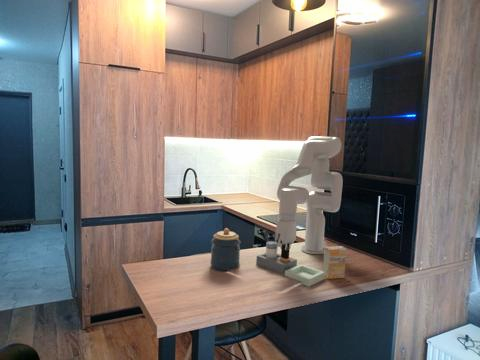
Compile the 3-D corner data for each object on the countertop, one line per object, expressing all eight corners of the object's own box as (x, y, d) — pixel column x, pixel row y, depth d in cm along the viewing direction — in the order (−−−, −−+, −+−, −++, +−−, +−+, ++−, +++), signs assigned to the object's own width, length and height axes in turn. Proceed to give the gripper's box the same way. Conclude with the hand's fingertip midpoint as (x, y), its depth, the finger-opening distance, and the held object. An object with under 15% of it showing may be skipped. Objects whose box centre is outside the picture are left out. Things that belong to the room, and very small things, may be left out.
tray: (300, 270, 160) (300, 264, 160) (324, 278, 152) (324, 271, 152) (284, 277, 151) (284, 270, 151) (309, 286, 143) (309, 279, 143)
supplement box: (327, 279, 151) (329, 249, 150) (321, 275, 156) (324, 246, 154) (344, 278, 154) (347, 248, 152) (338, 274, 158) (341, 245, 157)
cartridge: (269, 261, 167) (271, 240, 166) (278, 264, 164) (280, 243, 163) (262, 264, 164) (263, 242, 162) (271, 267, 160) (273, 245, 159)
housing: (269, 261, 170) (270, 251, 170) (296, 270, 160) (296, 259, 160) (256, 266, 163) (256, 255, 163) (283, 276, 153) (283, 264, 152)
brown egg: (283, 265, 162) (283, 255, 161) (291, 268, 159) (292, 258, 158) (277, 268, 158) (277, 257, 158) (285, 270, 156) (286, 260, 155)
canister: (236, 273, 154) (237, 233, 151) (206, 270, 156) (208, 230, 154) (241, 263, 166) (243, 226, 164) (214, 260, 169) (216, 223, 167)
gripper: (290, 213, 164) (287, 252, 166) (269, 217, 153) (267, 259, 155) (304, 216, 159) (301, 256, 161) (284, 220, 148) (281, 264, 150)
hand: (284, 257), depth 158 cm, fingers closed
